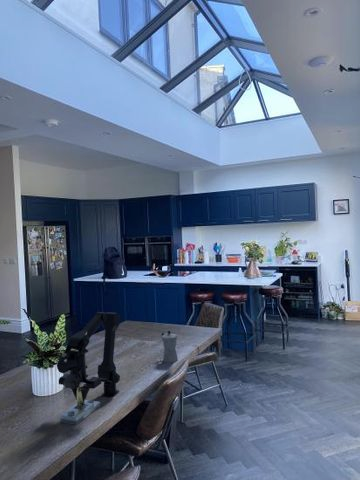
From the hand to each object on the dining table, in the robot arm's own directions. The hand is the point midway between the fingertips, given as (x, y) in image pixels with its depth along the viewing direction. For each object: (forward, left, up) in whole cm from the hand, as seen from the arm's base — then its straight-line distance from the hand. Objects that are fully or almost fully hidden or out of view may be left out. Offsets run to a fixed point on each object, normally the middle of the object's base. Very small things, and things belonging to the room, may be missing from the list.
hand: (80, 400), depth 165 cm
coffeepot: (-73, +12, -6) cm, 74 cm away
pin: (0, 0, -2) cm, 2 cm away
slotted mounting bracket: (0, 0, -6) cm, 6 cm away
